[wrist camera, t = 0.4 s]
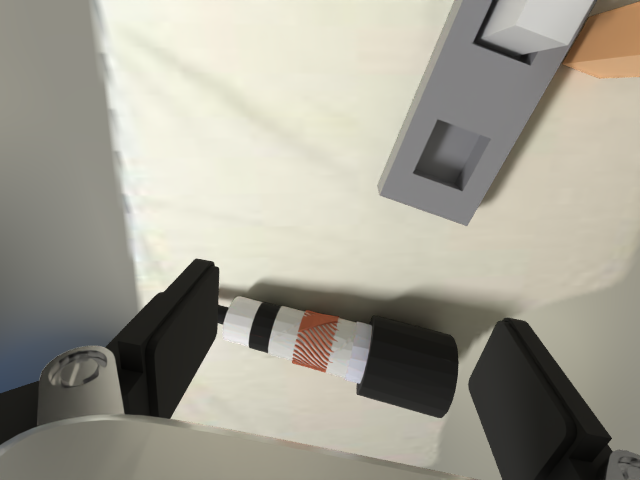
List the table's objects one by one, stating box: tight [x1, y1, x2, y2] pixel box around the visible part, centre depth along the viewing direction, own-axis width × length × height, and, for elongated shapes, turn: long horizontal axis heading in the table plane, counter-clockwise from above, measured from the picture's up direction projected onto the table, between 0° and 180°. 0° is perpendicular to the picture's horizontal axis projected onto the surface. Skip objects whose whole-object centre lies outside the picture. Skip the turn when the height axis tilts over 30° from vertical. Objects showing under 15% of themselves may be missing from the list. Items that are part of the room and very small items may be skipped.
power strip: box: [377, 0, 597, 226], centre depth 29 cm, size 24×10×10 cm, turn 162°
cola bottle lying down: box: [218, 296, 458, 418], centre depth 44 cm, size 10×34×10 cm, turn 81°
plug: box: [562, 1, 640, 78], centre depth 27 cm, size 4×4×10 cm
